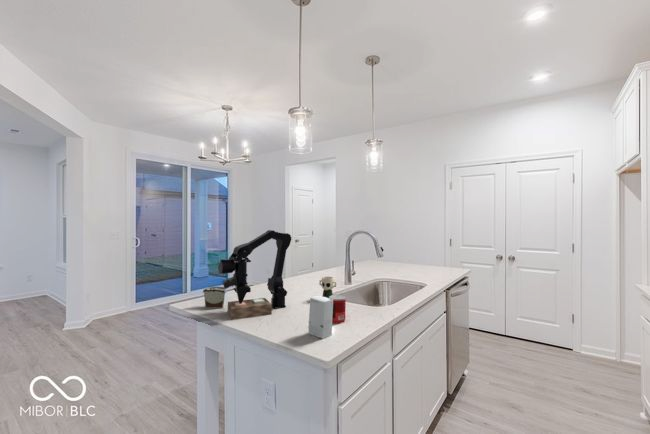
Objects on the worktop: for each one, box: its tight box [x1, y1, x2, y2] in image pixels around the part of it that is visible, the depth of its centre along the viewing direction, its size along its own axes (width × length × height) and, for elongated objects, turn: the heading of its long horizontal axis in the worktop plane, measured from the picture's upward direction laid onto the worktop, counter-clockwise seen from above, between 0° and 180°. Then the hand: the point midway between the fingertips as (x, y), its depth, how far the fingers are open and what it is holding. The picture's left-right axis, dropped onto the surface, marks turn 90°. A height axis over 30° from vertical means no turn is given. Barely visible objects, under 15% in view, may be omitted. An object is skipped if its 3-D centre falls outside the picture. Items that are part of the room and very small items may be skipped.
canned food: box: [329, 294, 347, 324], centre depth 138 cm, size 8×8×11 cm
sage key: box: [252, 298, 265, 304], centre depth 151 cm, size 5×5×4 cm
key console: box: [227, 297, 273, 320], centre depth 149 cm, size 19×13×5 cm
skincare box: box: [308, 295, 333, 340], centre depth 122 cm, size 8×6×15 cm
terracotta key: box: [234, 302, 246, 306], centre depth 147 cm, size 5×5×4 cm
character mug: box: [318, 276, 337, 298], centre depth 174 cm, size 11×7×13 cm, turn 64°
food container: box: [202, 286, 227, 309], centre depth 160 cm, size 12×6×10 cm, turn 84°
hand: (240, 303), depth 147 cm, fingers closed, pressing on terracotta key
